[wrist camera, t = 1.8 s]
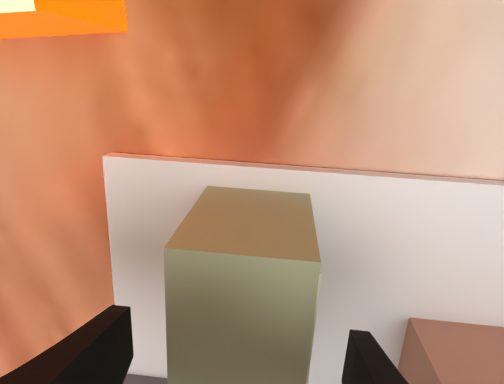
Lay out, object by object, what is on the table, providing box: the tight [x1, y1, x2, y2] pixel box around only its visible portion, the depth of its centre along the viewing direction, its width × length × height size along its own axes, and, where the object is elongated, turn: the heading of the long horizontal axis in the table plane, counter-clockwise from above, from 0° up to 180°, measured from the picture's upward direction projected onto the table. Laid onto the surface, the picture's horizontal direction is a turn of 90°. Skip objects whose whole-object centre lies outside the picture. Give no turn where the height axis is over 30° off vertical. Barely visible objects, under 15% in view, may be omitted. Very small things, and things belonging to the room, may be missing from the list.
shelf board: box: [102, 152, 504, 384], centre depth 17 cm, size 13×22×2 cm, turn 87°
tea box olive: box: [164, 186, 322, 384], centre depth 14 cm, size 5×7×6 cm
